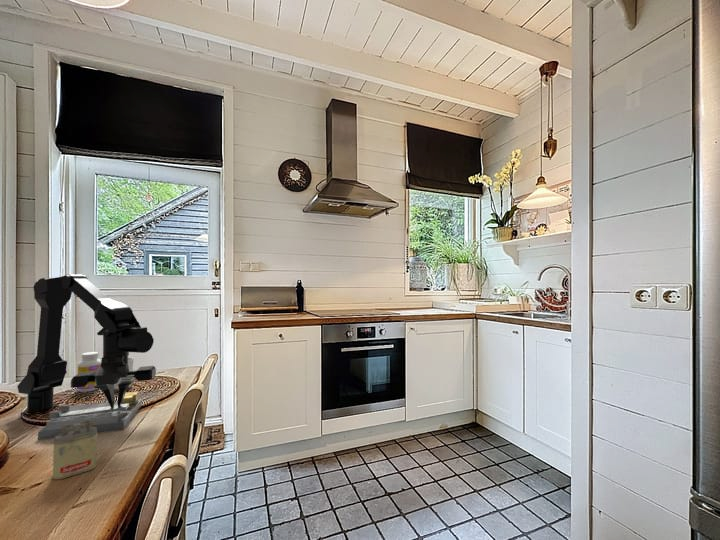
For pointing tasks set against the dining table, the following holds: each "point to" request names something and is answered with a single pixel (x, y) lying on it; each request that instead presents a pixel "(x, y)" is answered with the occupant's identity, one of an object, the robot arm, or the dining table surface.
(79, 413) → the strap
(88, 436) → the pale red-labelled box
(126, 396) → the pale yellow lumpy block
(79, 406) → the grey stone tray
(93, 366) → the supplement bottle
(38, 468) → the dining table surface
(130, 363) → the white cup
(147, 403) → the dining table surface
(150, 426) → the dining table surface
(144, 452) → the dining table surface
